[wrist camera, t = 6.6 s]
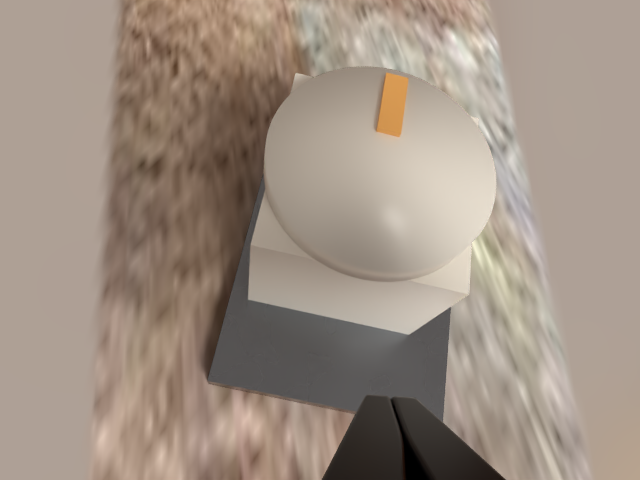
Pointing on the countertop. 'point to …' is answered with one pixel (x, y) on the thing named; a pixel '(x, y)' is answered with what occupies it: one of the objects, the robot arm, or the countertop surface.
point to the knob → (370, 200)
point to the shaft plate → (324, 352)
